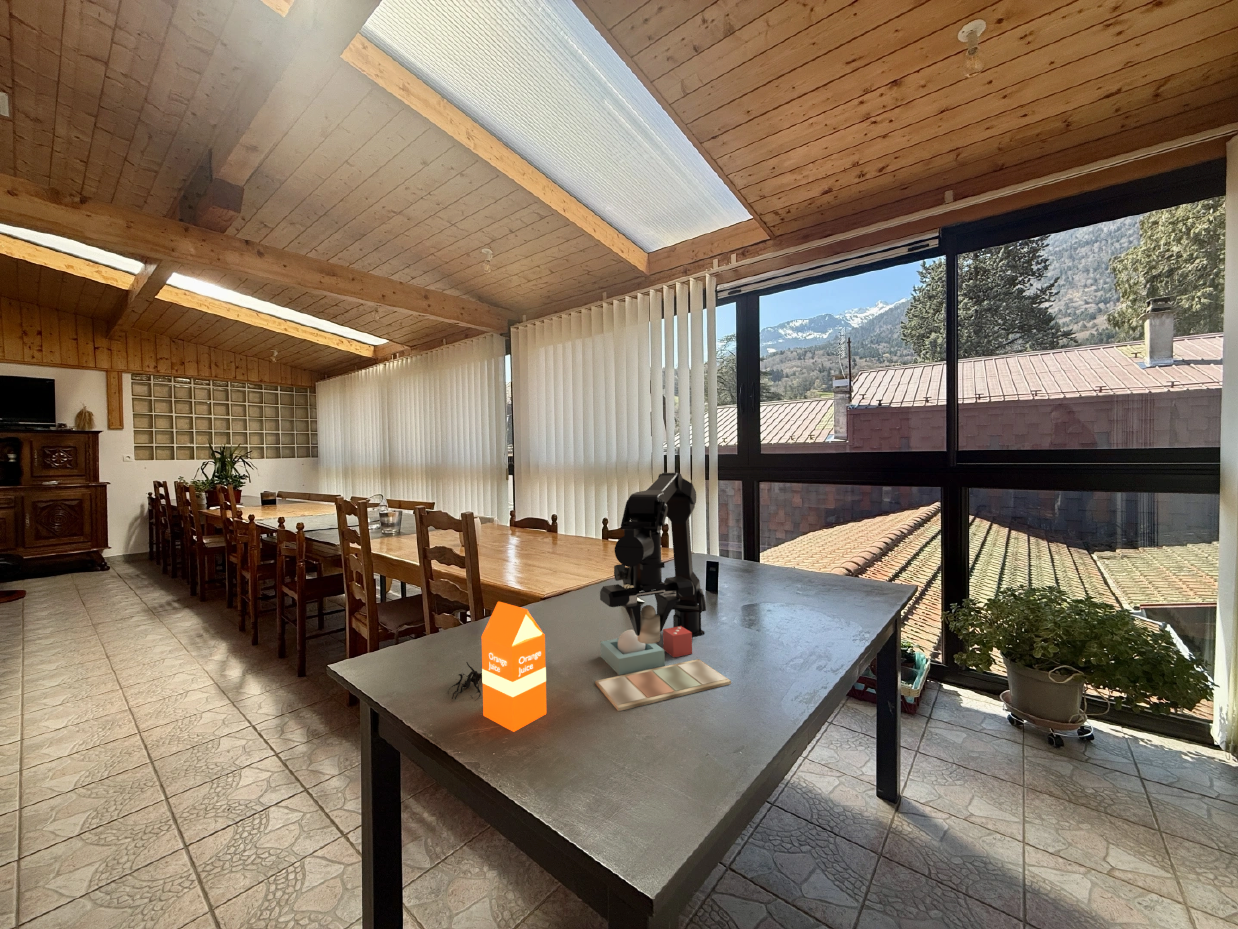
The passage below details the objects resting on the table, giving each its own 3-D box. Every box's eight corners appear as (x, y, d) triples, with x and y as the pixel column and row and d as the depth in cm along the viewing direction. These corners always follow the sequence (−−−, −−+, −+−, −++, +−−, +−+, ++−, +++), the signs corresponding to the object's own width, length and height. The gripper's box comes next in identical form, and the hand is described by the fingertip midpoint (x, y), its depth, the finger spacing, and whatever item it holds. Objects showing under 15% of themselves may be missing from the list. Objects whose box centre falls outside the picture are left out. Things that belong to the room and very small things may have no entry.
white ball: (638, 650, 115) (637, 624, 115) (650, 661, 109) (650, 632, 109) (613, 655, 112) (612, 628, 112) (624, 666, 107) (624, 637, 106)
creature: (470, 711, 92) (497, 684, 99) (465, 687, 91) (492, 661, 98) (439, 703, 95) (467, 678, 102) (434, 679, 94) (462, 655, 101)
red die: (681, 646, 119) (680, 625, 119) (692, 653, 114) (691, 632, 114) (663, 649, 117) (662, 628, 117) (673, 657, 112) (673, 635, 112)
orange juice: (516, 699, 94) (514, 596, 94) (547, 713, 89) (545, 604, 88) (482, 716, 88) (479, 606, 88) (513, 732, 82) (510, 615, 82)
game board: (699, 661, 110) (698, 658, 110) (731, 683, 99) (731, 680, 99) (595, 683, 100) (595, 680, 100) (618, 711, 89) (618, 707, 89)
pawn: (653, 633, 101) (653, 600, 101) (664, 641, 97) (663, 606, 97) (633, 637, 99) (633, 603, 99) (643, 645, 95) (642, 610, 95)
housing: (642, 648, 118) (642, 634, 118) (664, 665, 108) (664, 650, 108) (600, 656, 114) (600, 641, 114) (619, 675, 104) (618, 659, 103)
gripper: (668, 545, 109) (669, 614, 109) (589, 553, 101) (591, 628, 102) (694, 554, 99) (696, 630, 99) (609, 564, 91) (611, 646, 91)
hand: (648, 633), depth 98 cm, fingers closed on pawn, 5 cm apart
